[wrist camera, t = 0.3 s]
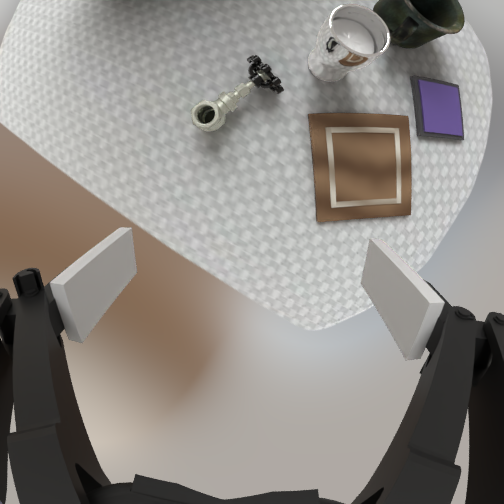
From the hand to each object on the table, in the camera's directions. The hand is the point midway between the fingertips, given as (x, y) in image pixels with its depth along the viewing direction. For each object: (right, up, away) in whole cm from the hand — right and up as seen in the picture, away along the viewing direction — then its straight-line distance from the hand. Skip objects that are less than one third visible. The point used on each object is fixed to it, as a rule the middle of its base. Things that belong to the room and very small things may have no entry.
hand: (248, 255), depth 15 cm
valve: (-2, +22, +21) cm, 30 cm away
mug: (+23, +36, +14) cm, 45 cm away
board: (+17, +13, +23) cm, 32 cm away
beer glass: (+11, +28, +18) cm, 35 cm away
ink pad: (+31, +24, +19) cm, 43 cm away
